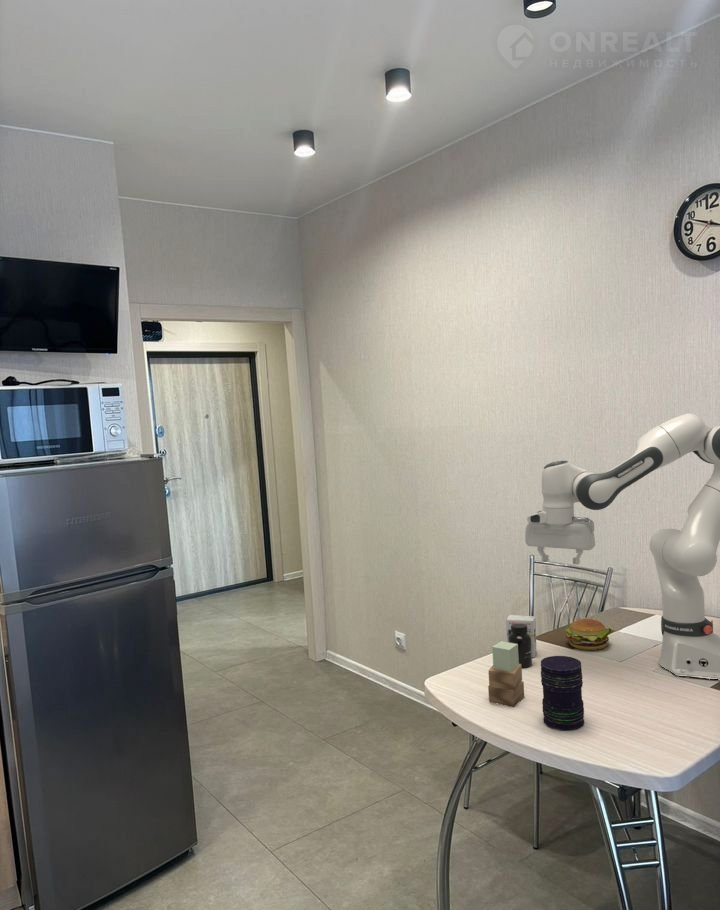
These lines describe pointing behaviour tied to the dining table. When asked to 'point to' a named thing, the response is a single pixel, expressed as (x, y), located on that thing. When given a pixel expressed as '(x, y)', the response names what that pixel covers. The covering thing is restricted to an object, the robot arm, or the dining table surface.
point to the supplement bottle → (522, 643)
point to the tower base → (506, 695)
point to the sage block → (505, 656)
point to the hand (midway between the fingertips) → (560, 562)
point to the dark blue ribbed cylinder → (562, 693)
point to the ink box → (531, 628)
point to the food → (587, 634)
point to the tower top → (505, 678)
